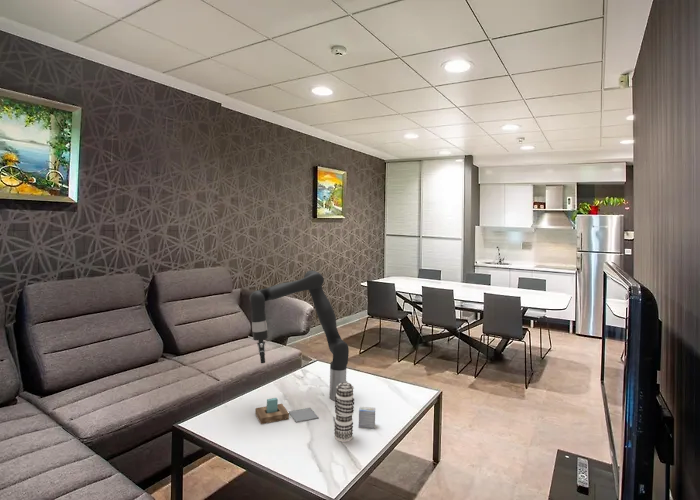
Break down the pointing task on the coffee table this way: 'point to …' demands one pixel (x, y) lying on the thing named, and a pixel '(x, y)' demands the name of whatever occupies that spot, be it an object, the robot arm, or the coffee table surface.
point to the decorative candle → (344, 412)
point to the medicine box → (367, 417)
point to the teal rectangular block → (272, 405)
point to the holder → (271, 414)
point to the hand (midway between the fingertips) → (262, 361)
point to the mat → (303, 415)
